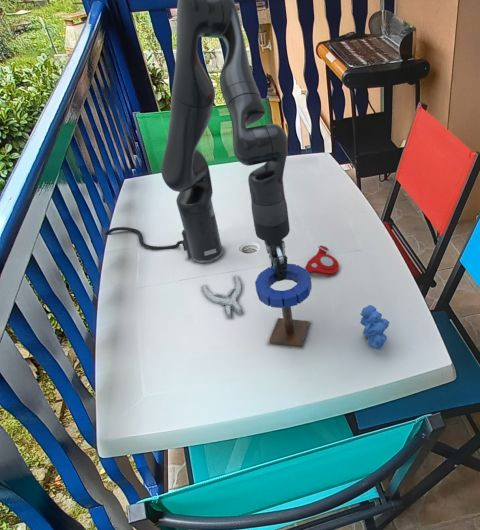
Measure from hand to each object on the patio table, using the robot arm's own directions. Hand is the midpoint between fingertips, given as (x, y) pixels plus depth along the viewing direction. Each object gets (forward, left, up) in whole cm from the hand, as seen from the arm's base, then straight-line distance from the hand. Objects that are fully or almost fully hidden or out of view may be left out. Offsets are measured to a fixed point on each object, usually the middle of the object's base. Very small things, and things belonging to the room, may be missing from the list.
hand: (279, 275), depth 118 cm
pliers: (-18, +6, -16) cm, 24 cm away
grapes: (+24, -4, -16) cm, 29 cm away
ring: (+2, -4, -1) cm, 5 cm away
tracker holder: (+5, +24, -16) cm, 29 cm away
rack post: (+2, -4, -15) cm, 16 cm away
